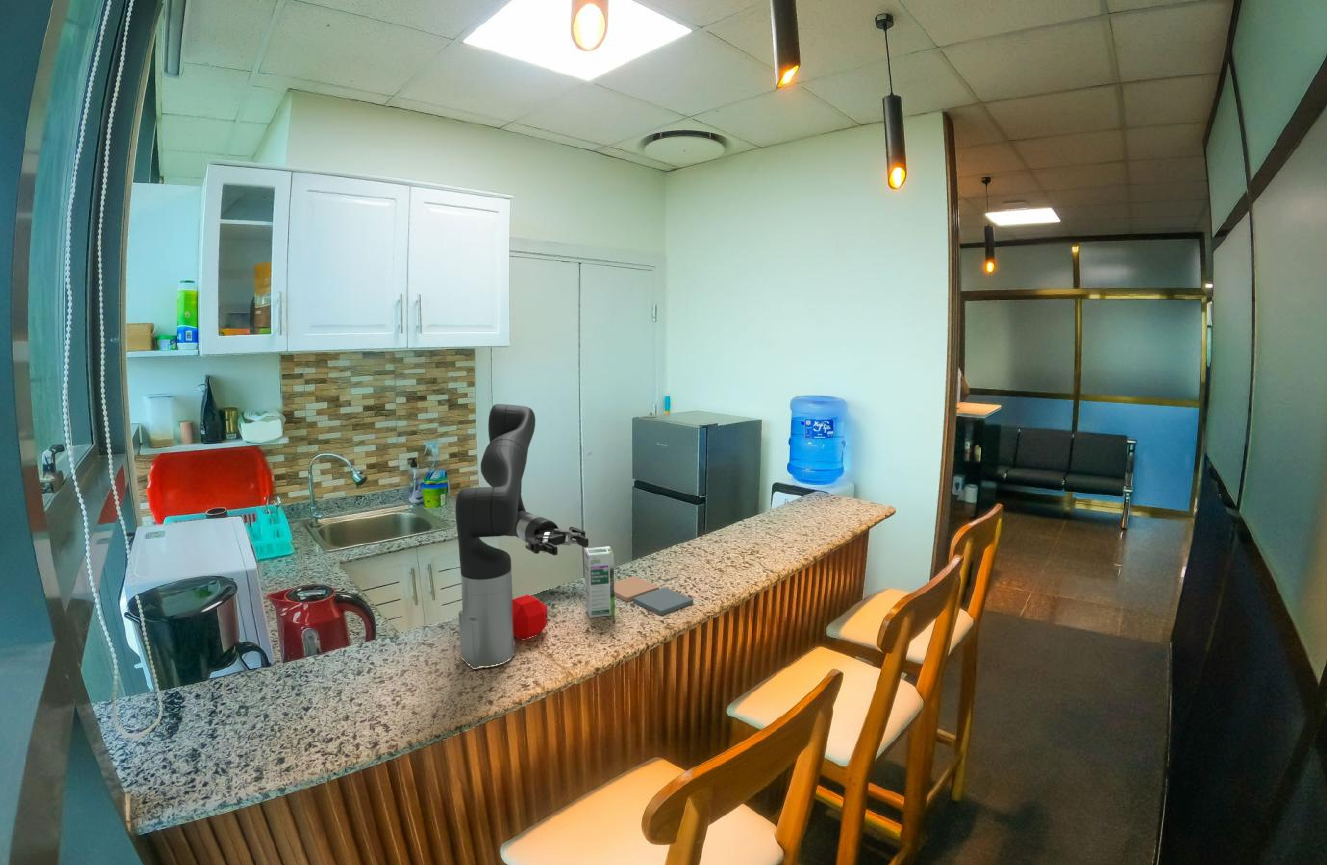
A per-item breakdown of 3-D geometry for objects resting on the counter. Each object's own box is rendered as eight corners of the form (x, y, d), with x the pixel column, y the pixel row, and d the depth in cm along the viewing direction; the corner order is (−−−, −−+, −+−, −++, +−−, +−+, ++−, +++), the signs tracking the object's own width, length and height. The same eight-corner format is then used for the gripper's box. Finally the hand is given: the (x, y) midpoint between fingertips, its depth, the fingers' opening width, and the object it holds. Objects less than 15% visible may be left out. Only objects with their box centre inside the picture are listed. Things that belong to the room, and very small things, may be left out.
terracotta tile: (626, 601, 146) (626, 597, 146) (601, 589, 154) (601, 585, 153) (659, 590, 153) (659, 586, 152) (633, 579, 160) (633, 575, 160)
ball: (553, 634, 129) (552, 599, 128) (519, 647, 124) (518, 610, 123) (532, 622, 135) (531, 589, 134) (499, 634, 130) (497, 599, 129)
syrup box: (589, 618, 137) (588, 555, 135) (585, 608, 143) (584, 546, 141) (615, 615, 138) (614, 552, 137) (610, 605, 144) (609, 544, 142)
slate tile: (660, 615, 139) (660, 611, 138) (632, 601, 146) (632, 597, 146) (693, 603, 145) (693, 599, 145) (664, 590, 152) (664, 587, 152)
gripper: (511, 522, 154) (545, 538, 142) (560, 511, 164) (596, 525, 151) (512, 551, 155) (546, 569, 143) (561, 539, 165) (597, 555, 153)
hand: (572, 547), depth 147 cm, fingers open, 8 cm apart
